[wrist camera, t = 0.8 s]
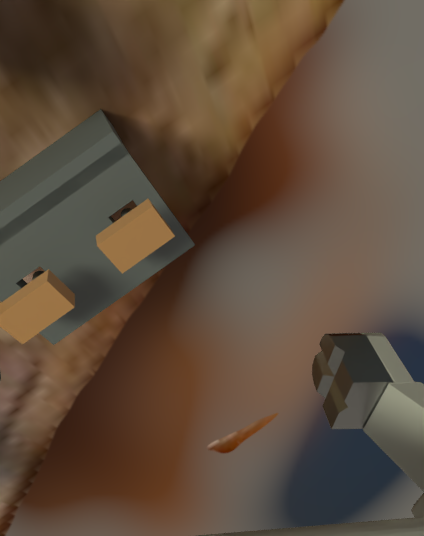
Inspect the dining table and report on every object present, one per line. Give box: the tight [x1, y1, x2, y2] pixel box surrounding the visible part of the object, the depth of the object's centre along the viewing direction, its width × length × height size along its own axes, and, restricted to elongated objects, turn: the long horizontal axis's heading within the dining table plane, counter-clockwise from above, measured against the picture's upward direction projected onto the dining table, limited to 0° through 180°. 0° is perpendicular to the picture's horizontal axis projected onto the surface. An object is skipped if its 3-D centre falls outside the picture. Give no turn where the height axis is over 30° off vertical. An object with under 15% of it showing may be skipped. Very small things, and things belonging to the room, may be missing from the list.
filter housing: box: [0, 109, 195, 345], centre depth 41 cm, size 12×16×16 cm
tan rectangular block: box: [96, 199, 175, 274], centre depth 32 cm, size 3×5×6 cm, turn 121°
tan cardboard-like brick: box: [0, 269, 75, 344], centre depth 33 cm, size 3×5×6 cm, turn 122°
